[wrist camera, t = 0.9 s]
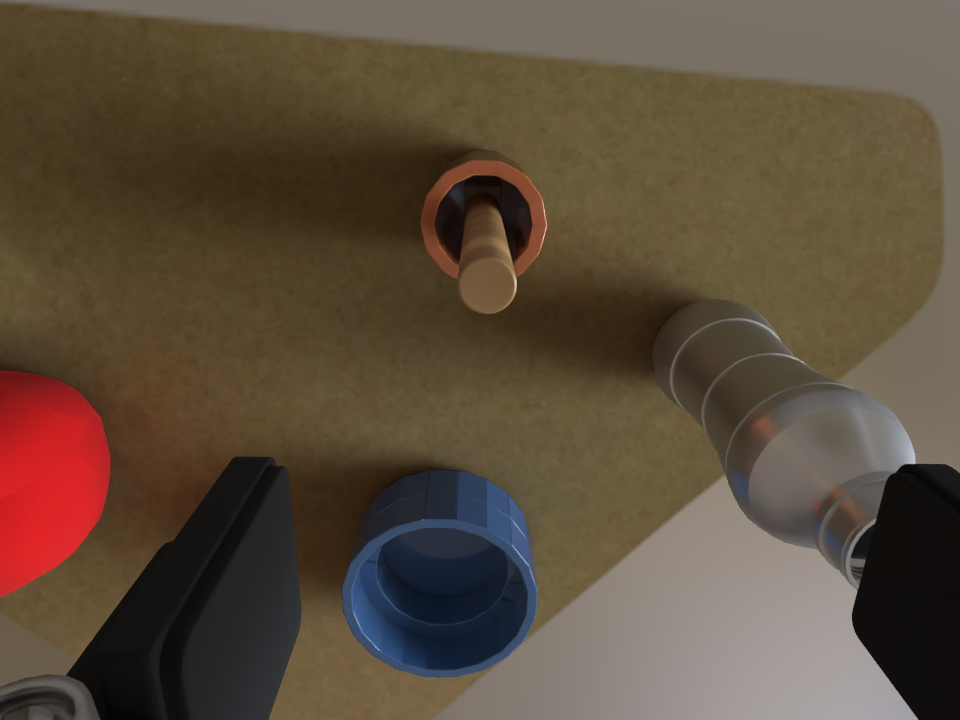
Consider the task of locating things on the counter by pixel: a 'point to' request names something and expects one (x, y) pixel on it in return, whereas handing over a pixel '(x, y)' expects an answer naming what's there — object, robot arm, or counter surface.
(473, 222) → the stirring stick
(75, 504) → the tomato
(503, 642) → the bowl
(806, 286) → the counter surface
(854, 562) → the silver metal bottle
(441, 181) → the crock
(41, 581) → the counter surface
